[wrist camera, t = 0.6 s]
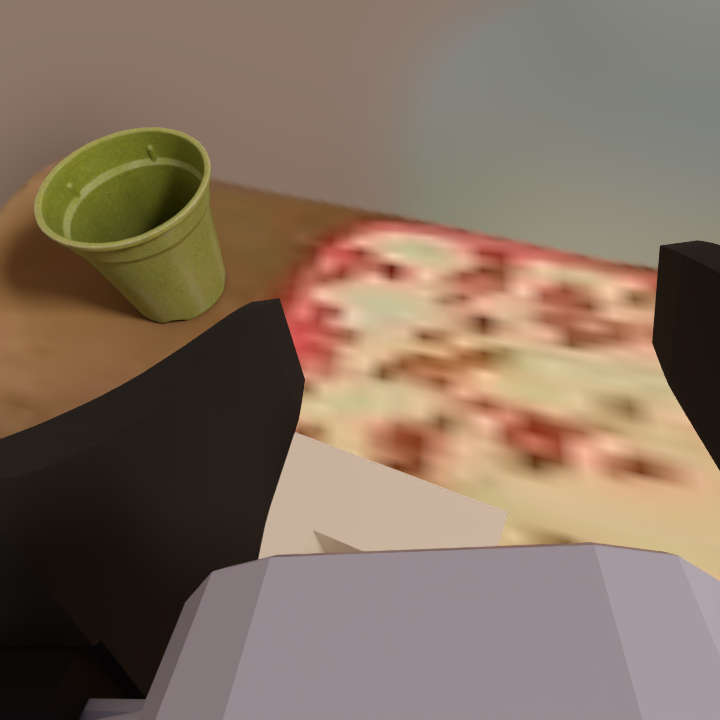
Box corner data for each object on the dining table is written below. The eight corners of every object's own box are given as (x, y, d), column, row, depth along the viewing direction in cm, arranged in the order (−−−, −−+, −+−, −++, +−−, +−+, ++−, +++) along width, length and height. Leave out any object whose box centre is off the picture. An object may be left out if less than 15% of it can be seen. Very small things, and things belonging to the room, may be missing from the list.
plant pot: (80, 304, 37) (-2, 202, 30) (183, 217, 41) (132, 107, 34) (176, 372, 34) (108, 275, 26) (280, 270, 37) (246, 160, 30)
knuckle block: (406, 837, 21) (403, 859, 18) (185, 712, 24) (148, 711, 21) (497, 538, 27) (508, 511, 24) (309, 464, 30) (295, 432, 26)
